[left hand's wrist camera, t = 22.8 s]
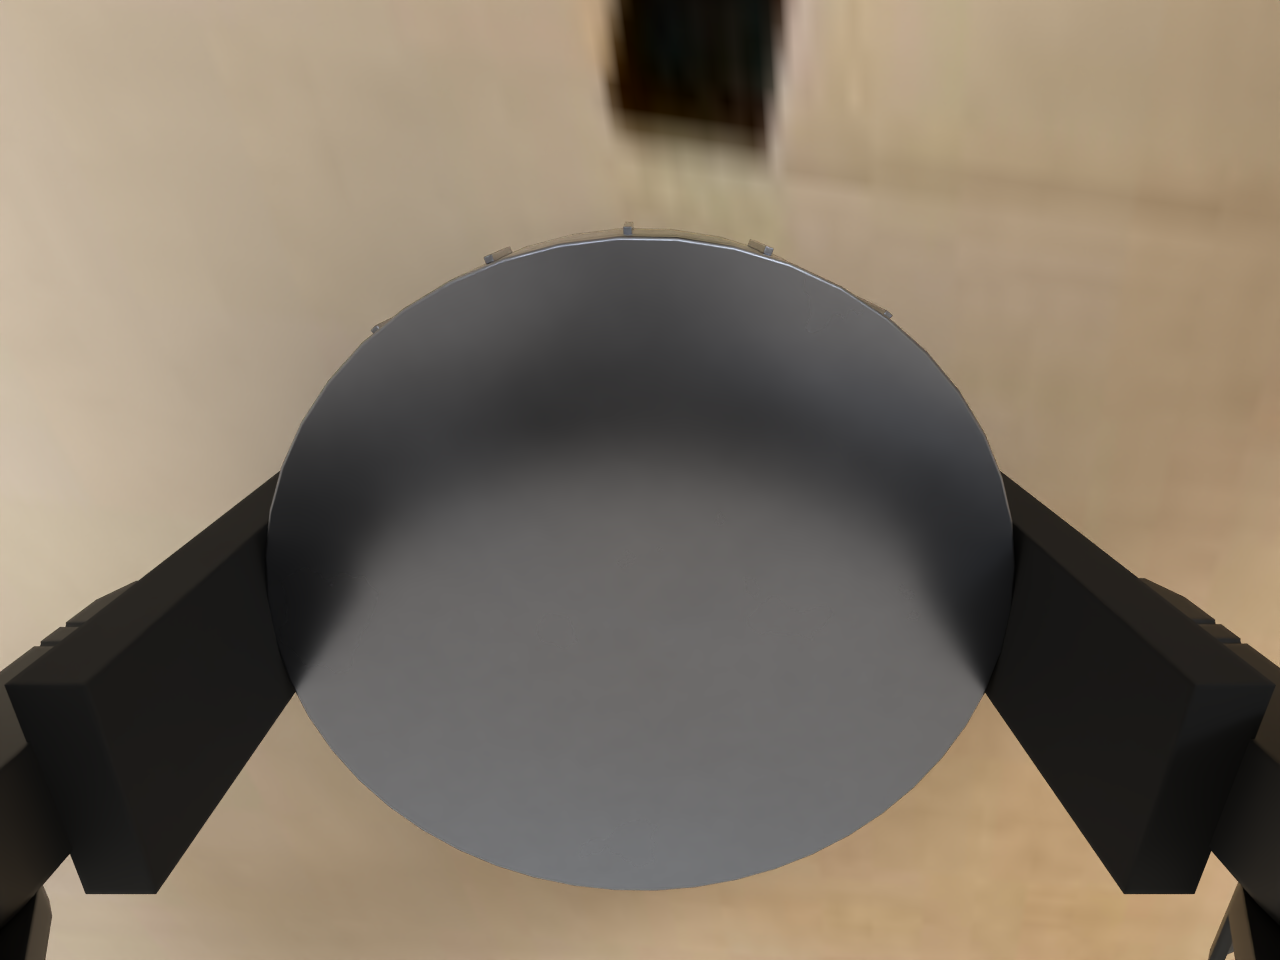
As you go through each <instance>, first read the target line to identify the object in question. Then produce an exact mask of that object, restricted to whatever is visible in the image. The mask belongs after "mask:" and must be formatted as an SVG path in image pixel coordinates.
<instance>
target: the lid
mask: <svg viewBox="0 0 1280 960" xmlns="http://www.w3.org/2000/svg"><path fill="white" fill-rule="evenodd" d="M772 252H773V248H771V247H769V246H766V245H764V244H762V243H759V242H757V241H754V240H751V239H750V241H749V243H748V245H744V244H741V243H738V242H734V241H731V240H728V239H725V238H721V237H717V236H711V235H704V234H698V233H692V232H685V231H679V230H672V229H633V222H625V224H624V226H623V228H621V229H613V230H604V231H596V232H588V233H580V234H572V235H569V236H565V237H561V238H557V239H554V240H550V241H546V242H542V243H539V244H535V245H531V246H527V247H525V248H522V249H520V250H517V251H515V252H513V253H512V250H511V248H510V247H507V248H505V249H502V250H500V251H497V252H495V253H492V254H490V255H488V256H485V257H484V260H485V262H486V264H484V265H482V266H480V267H478V268H476V269H474V270H471V271H469V272H467V273H465V274H463V275H461V276H458V277H456V278H454V279H452V280H450V281H448V282H447V283H445V284H443V285H442V286H440V287H438V288H437V289H435V290H434V291H432V292H430V293H429V294H427V295H425V296H424V297H422V298H420V299H419V300H417V301H415V302H414V303H412V304H410V305H409V306H407V307H405V308H404V309H402V310H401V311H400V312H399V313H398V314H396V315H395V316H394V317H392V318H390V319H388V320H386V321H384V322H382V323H380V324H378V325H376V326H375V327H374V328H373V329H372V330H371V331H372V332H373V334H372V335H371V336H370V337H369V338H367V339H366V340H365V341H364V342H363V343H362V344H361V345H360V346H359V347H358V348H357V349H356V350H355V351H354V353H353V354H352V355H351V356H350V357H349V358H348V359H347V360H346V361H345V363H344V364H343V365H342V366H341V367H340V368H339V369H338V370H337V372H336V373H335V374H334V375H333V376H332V377H331V378H330V379H329V381H328V382H327V383H326V385H325V386H324V388H323V390H322V391H321V393H320V394H319V396H318V397H317V399H316V400H315V402H314V403H313V405H312V407H311V408H310V410H309V411H308V413H307V414H306V416H305V417H304V419H303V420H302V422H301V424H300V426H299V428H298V431H297V433H296V435H295V437H294V440H293V442H292V444H291V446H290V449H289V451H288V453H287V455H286V458H285V460H284V462H283V464H282V467H281V471H280V474H279V478H278V482H277V486H276V489H275V493H274V497H273V501H272V504H271V508H270V514H269V524H268V533H267V542H266V552H265V564H266V585H267V598H268V603H269V608H270V612H271V617H272V622H273V626H274V631H275V636H276V641H277V644H278V648H279V652H280V655H281V657H282V660H283V663H284V666H285V669H286V671H287V674H288V677H289V680H290V682H291V684H292V686H293V688H294V689H295V691H296V693H297V695H298V697H299V699H300V701H301V703H302V705H303V707H304V709H305V711H306V713H307V715H308V716H309V718H310V719H311V721H312V722H313V724H314V725H315V726H316V728H317V729H318V731H319V732H320V734H321V735H322V737H323V738H324V739H325V741H326V742H327V744H328V745H329V747H330V748H331V749H332V751H333V752H334V753H335V754H336V755H337V756H338V757H339V758H340V760H341V761H342V762H343V763H344V764H345V765H346V766H347V767H348V768H349V770H350V771H351V772H352V773H353V774H354V775H355V776H356V777H357V778H358V780H359V781H361V782H362V783H363V784H364V785H365V786H366V787H367V788H369V789H370V790H371V791H372V792H373V793H374V794H375V795H376V796H378V797H379V798H380V799H381V800H382V801H383V802H384V803H386V804H387V805H388V806H389V807H390V808H392V809H393V810H395V811H396V812H397V813H399V814H400V815H402V816H403V817H405V818H406V819H408V820H409V821H410V822H412V823H413V824H415V825H416V826H418V827H419V828H420V829H422V830H423V831H425V832H427V833H429V834H431V835H433V836H434V837H436V838H438V839H440V840H442V841H443V842H445V843H447V844H449V845H451V846H453V847H454V848H456V849H458V850H460V851H463V852H465V853H467V854H470V855H472V856H475V857H477V858H479V859H482V860H484V861H486V862H489V863H491V864H493V865H496V866H499V867H502V868H506V869H509V870H512V871H515V872H519V873H522V874H525V875H528V876H531V877H535V878H540V879H545V880H549V881H554V882H559V883H564V884H569V885H574V886H583V887H592V888H601V889H611V890H667V889H679V888H691V887H699V886H705V885H710V884H716V883H721V882H727V881H733V880H737V879H741V878H744V877H748V876H751V875H755V874H759V873H762V872H766V871H769V870H773V869H776V868H779V867H781V866H784V865H786V864H789V863H791V862H794V861H796V860H799V859H801V858H804V857H807V856H809V855H812V854H814V853H816V852H818V851H820V850H822V849H824V848H826V847H827V846H829V845H831V844H833V843H835V842H837V841H839V840H841V839H843V838H845V837H847V836H849V835H850V834H852V833H853V832H855V831H856V830H858V829H859V828H861V827H863V826H864V825H866V824H867V823H869V822H870V821H872V820H873V819H875V818H876V817H878V816H879V815H881V814H882V813H884V812H885V811H886V810H887V809H888V808H890V807H891V806H892V805H893V804H894V803H896V802H897V801H898V800H899V799H900V798H902V797H903V796H904V795H905V794H907V793H908V792H909V791H910V790H911V789H913V788H914V787H915V786H916V785H917V784H918V783H919V782H920V780H921V779H922V778H923V777H924V776H925V775H926V774H927V773H928V772H929V771H930V770H931V769H932V768H933V767H934V766H935V765H936V764H937V763H938V762H939V761H940V760H941V758H942V757H943V756H944V755H945V753H946V752H947V751H948V749H949V748H950V747H951V745H952V744H953V743H954V741H955V740H956V739H957V737H958V736H959V734H960V733H961V732H962V730H963V729H964V728H965V726H966V725H967V723H968V722H969V720H970V718H971V716H972V714H973V713H974V711H975V709H976V707H977V705H978V704H979V702H980V700H981V698H982V697H983V695H984V693H985V691H986V689H987V687H988V685H989V682H990V679H991V677H992V674H993V672H994V669H995V667H996V664H997V662H998V659H999V657H1000V654H1001V651H1002V646H1003V642H1004V637H1005V633H1006V628H1007V624H1008V619H1009V614H1010V610H1011V605H1012V599H1013V588H1014V576H1015V554H1014V540H1013V525H1012V518H1011V514H1010V509H1009V505H1008V501H1007V496H1006V492H1005V487H1004V483H1003V479H1002V475H1001V473H1000V470H999V468H998V465H997V463H996V460H995V458H994V455H993V453H992V450H991V448H990V445H989V443H988V440H987V438H986V435H985V433H984V431H983V430H982V428H981V426H980V425H979V423H978V421H977V420H976V418H975V416H974V415H973V413H972V411H971V409H970V408H969V406H968V404H967V403H966V401H965V399H964V398H963V396H962V394H961V393H960V391H959V390H958V389H957V387H956V386H955V385H954V384H953V383H952V381H951V380H950V379H949V378H948V377H947V375H946V374H945V373H944V372H943V371H942V369H941V368H940V367H939V366H938V364H937V363H936V362H935V361H934V360H933V358H932V357H931V356H930V355H929V354H928V352H927V351H925V350H924V349H923V348H922V347H921V346H920V345H919V344H918V343H917V342H915V341H914V340H913V339H912V338H911V337H910V336H909V335H908V334H906V333H905V332H904V331H903V330H902V329H901V328H900V327H899V326H897V325H896V324H895V323H894V322H893V321H892V320H891V319H890V318H891V317H892V314H890V313H889V312H888V311H887V310H885V309H882V308H880V307H878V306H876V305H874V304H872V303H870V302H868V301H866V300H864V299H862V298H860V297H858V296H855V295H854V294H852V293H851V292H849V291H848V290H846V289H845V288H843V287H841V286H839V285H837V284H835V283H833V282H831V281H829V280H826V279H824V278H822V277H820V276H818V275H816V274H814V273H812V272H810V271H807V270H805V269H803V268H801V267H799V266H797V265H795V264H792V263H790V262H788V261H786V260H784V259H782V258H779V257H777V256H775V255H773V254H772Z"/></svg>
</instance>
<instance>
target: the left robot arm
mask: <svg viewBox="0 0 1280 960" xmlns="http://www.w3.org/2000/svg"><path fill="white" fill-rule="evenodd" d="M1000 473H1001V475H1002V479H1003V483H1004V487H1005V492H1006V496H1007V501H1008V505H1009V509H1010V514H1011V518H1012V525H1013V540H1014V554H1015V576H1014V588H1013V599H1012V605H1011V610H1010V614H1009V619H1008V624H1007V628H1006V633H1005V637H1004V642H1003V646H1002V651H1001V654H1000V657H999V659H998V662H997V664H996V667H995V669H994V672H993V674H992V677H991V679H990V682H989V685H988V687H987V689H986V691H985V693H986V695H987V696H988V697H989V699H990V700H991V702H992V703H993V705H994V706H995V708H996V709H997V711H998V712H999V713H1000V715H1001V716H1002V718H1003V719H1004V721H1005V722H1006V724H1007V725H1008V726H1009V728H1010V729H1011V731H1012V732H1013V734H1014V735H1015V737H1016V738H1017V740H1018V741H1019V742H1020V744H1021V745H1022V747H1023V748H1024V750H1025V751H1026V753H1027V754H1028V755H1029V757H1030V758H1031V760H1032V761H1033V763H1034V764H1035V766H1036V767H1037V769H1038V770H1039V771H1040V773H1041V774H1042V776H1043V777H1044V779H1045V780H1046V782H1047V783H1048V784H1049V786H1050V787H1051V789H1052V790H1053V792H1054V793H1055V795H1056V796H1057V798H1058V799H1059V800H1060V802H1061V803H1062V805H1063V806H1064V808H1065V809H1066V811H1067V812H1068V813H1069V815H1070V816H1071V818H1072V819H1073V821H1074V822H1075V824H1076V825H1077V827H1078V828H1079V829H1080V831H1081V832H1082V834H1083V835H1084V837H1085V838H1086V840H1087V841H1088V843H1089V844H1090V845H1091V847H1092V848H1093V850H1094V851H1095V853H1096V854H1097V856H1098V857H1099V858H1100V860H1101V861H1102V863H1103V864H1104V866H1105V867H1106V869H1107V870H1108V872H1109V873H1110V874H1111V876H1112V877H1113V879H1114V880H1115V882H1116V883H1117V885H1118V886H1119V887H1120V889H1121V890H1122V892H1123V893H1124V894H1195V891H1196V889H1197V886H1198V883H1199V881H1200V878H1201V876H1202V873H1203V871H1204V868H1205V866H1206V863H1207V860H1208V858H1209V855H1210V853H1211V851H1212V852H1213V853H1214V854H1215V855H1216V857H1217V858H1218V859H1219V860H1220V861H1221V862H1222V864H1223V865H1224V866H1225V867H1226V868H1227V869H1228V870H1229V872H1230V873H1231V874H1232V875H1233V876H1234V877H1235V879H1236V880H1237V881H1238V884H1237V887H1236V889H1235V891H1234V894H1233V896H1232V899H1231V901H1230V903H1229V906H1228V908H1227V910H1226V913H1225V915H1224V918H1223V920H1222V922H1221V925H1220V927H1219V930H1218V932H1217V934H1216V937H1215V939H1214V942H1213V944H1212V946H1211V949H1210V953H1209V958H1208V960H1225V958H1226V956H1227V954H1229V953H1232V952H1234V955H1235V960H1280V668H1279V667H1278V666H1276V665H1275V664H1274V663H1272V662H1271V661H1270V660H1268V659H1267V658H1266V657H1264V656H1263V655H1262V654H1260V653H1259V652H1258V651H1256V650H1255V649H1254V648H1252V647H1251V646H1250V645H1248V644H1241V642H1240V638H1239V637H1237V636H1236V635H1235V634H1233V633H1232V632H1231V631H1229V630H1228V629H1227V628H1225V627H1224V626H1223V625H1221V624H1215V619H1213V618H1212V617H1211V616H1209V615H1208V614H1207V613H1205V612H1204V611H1203V610H1201V609H1200V608H1199V607H1197V606H1196V605H1195V604H1193V603H1192V602H1190V601H1189V600H1188V599H1186V598H1185V597H1183V596H1181V595H1179V594H1177V593H1175V592H1173V591H1170V590H1168V589H1166V588H1164V587H1162V586H1160V585H1158V584H1156V583H1153V582H1151V581H1149V580H1147V579H1145V578H1137V577H1136V576H1135V575H1134V574H1132V573H1131V572H1130V571H1128V570H1127V569H1126V568H1125V567H1123V566H1122V565H1121V564H1119V563H1118V562H1117V561H1116V560H1114V559H1113V558H1112V557H1110V556H1109V555H1108V554H1107V553H1105V552H1104V551H1103V550H1101V549H1100V548H1099V547H1097V546H1096V545H1095V544H1094V543H1092V542H1091V541H1090V540H1088V539H1087V538H1086V537H1085V536H1083V535H1082V534H1081V533H1079V532H1078V531H1077V530H1076V529H1074V528H1073V527H1072V526H1070V525H1069V524H1068V523H1067V522H1065V521H1064V520H1063V519H1061V518H1060V517H1059V516H1058V515H1056V514H1055V513H1054V512H1052V511H1051V510H1050V509H1048V508H1047V507H1046V506H1045V505H1043V504H1042V503H1041V502H1039V501H1038V500H1037V499H1036V498H1034V497H1033V496H1032V495H1030V494H1029V493H1028V492H1027V491H1025V490H1024V489H1023V488H1021V487H1020V486H1019V485H1018V484H1016V483H1015V482H1014V481H1012V480H1011V479H1010V478H1008V477H1007V476H1006V475H1005V474H1003V473H1002V472H1001V471H1000ZM279 474H280V471H279V472H278V473H277V474H275V475H274V476H273V477H272V478H270V479H269V480H268V481H266V482H265V483H264V484H263V485H261V486H260V487H259V488H257V489H256V490H255V491H254V492H252V493H251V494H250V495H248V496H247V497H246V498H245V499H243V500H242V501H241V502H239V503H238V504H237V505H235V506H234V507H233V508H232V509H230V510H229V511H228V512H226V513H225V514H224V515H223V516H221V517H220V518H219V519H217V520H216V521H215V522H214V523H212V524H211V525H210V526H208V527H207V528H206V529H205V530H203V531H202V532H201V533H199V534H198V535H197V536H195V537H194V538H193V539H192V540H190V541H189V542H188V543H186V544H185V545H184V546H183V547H181V548H180V549H179V550H177V551H176V552H175V553H174V554H172V555H171V556H170V557H168V558H167V559H166V560H165V561H163V562H162V563H161V564H159V565H158V566H157V567H156V568H154V569H153V570H152V571H150V572H149V573H148V574H146V575H145V576H144V577H143V578H141V579H140V580H139V581H135V582H133V583H131V584H129V585H127V586H124V587H122V588H120V589H118V590H116V591H114V592H112V593H110V594H108V595H106V596H103V597H101V598H99V599H97V600H95V601H94V602H93V603H91V604H90V605H89V606H87V607H86V608H85V609H83V610H82V611H81V612H79V613H78V614H77V615H75V616H74V617H73V618H71V619H70V620H69V621H67V622H66V627H59V628H58V629H57V630H55V631H54V632H53V633H51V634H50V635H49V636H47V637H46V638H45V639H43V640H42V641H41V645H40V646H34V647H33V648H31V649H30V650H29V651H27V652H26V653H25V654H23V655H22V656H21V657H19V658H18V659H17V660H15V661H14V662H13V663H11V664H10V665H9V666H7V667H6V668H5V669H3V670H2V671H1V672H0V960H45V958H46V951H47V945H48V938H49V932H50V926H51V919H52V913H51V907H50V902H49V899H48V896H47V894H46V891H45V889H44V887H43V884H44V883H45V882H46V881H47V880H48V878H49V877H50V876H51V875H52V874H53V873H54V871H55V870H56V869H57V868H58V867H59V866H60V864H61V863H62V862H63V861H64V860H65V859H66V857H67V856H68V855H69V854H70V855H71V857H72V860H73V863H74V865H75V868H76V870H77V873H78V875H79V878H80V880H81V883H82V886H83V888H84V891H85V893H86V894H156V893H157V892H158V891H159V889H160V888H161V886H162V885H163V883H164V882H165V880H166V879H167V877H168V876H169V875H170V873H171V872H172V870H173V869H174V867H175V866H176V864H177V863H178V862H179V860H180V859H181V857H182V856H183V854H184V853H185V851H186V850H187V848H188V847H189V846H190V844H191V843H192V841H193V840H194V838H195V837H196V835H197V834H198V832H199V831H200V830H201V828H202V827H203V825H204V824H205V822H206V821H207V819H208V818H209V817H210V815H211V814H212V812H213V811H214V809H215V808H216V806H217V805H218V803H219V802H220V801H221V799H222V798H223V796H224V795H225V793H226V792H227V790H228V789H229V788H230V786H231V785H232V783H233V782H234V780H235V779H236V777H237V776H238V774H239V773H240V772H241V770H242V769H243V767H244V766H245V764H246V763H247V761H248V760H249V759H250V757H251V756H252V754H253V753H254V751H255V750H256V748H257V747H258V745H259V744H260V743H261V741H262V740H263V738H264V737H265V735H266V734H267V732H268V731H269V729H270V728H271V727H272V725H273V724H274V722H275V721H276V719H277V718H278V716H279V715H280V714H281V712H282V711H283V709H284V708H285V706H286V705H287V703H288V702H289V700H290V699H291V698H292V696H293V695H294V693H295V692H296V691H295V689H294V688H293V686H292V684H291V682H290V680H289V677H288V674H287V671H286V669H285V666H284V663H283V660H282V657H281V655H280V652H279V648H278V644H277V641H276V636H275V631H274V626H273V622H272V617H271V612H270V608H269V603H268V598H267V585H266V564H265V552H266V542H267V533H268V524H269V514H270V508H271V504H272V501H273V497H274V493H275V489H276V486H277V482H278V478H279Z"/></svg>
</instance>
